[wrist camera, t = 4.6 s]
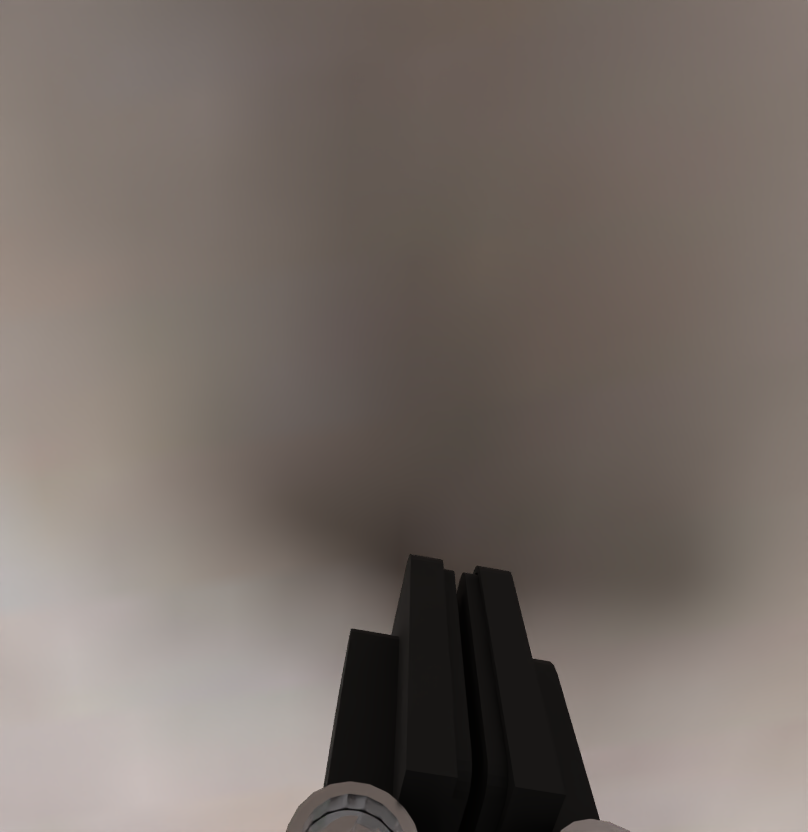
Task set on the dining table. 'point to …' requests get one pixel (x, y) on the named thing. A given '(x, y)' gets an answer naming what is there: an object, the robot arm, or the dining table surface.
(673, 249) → the dining table surface
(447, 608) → the robot arm
